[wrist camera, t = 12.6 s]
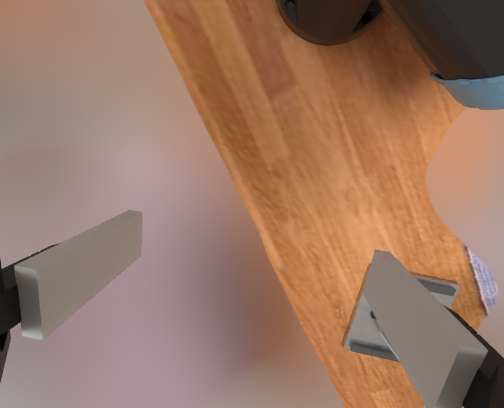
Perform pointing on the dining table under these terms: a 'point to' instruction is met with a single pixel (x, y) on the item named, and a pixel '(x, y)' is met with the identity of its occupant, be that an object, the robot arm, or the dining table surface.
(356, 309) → the mount plate
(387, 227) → the dining table surface
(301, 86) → the dining table surface
